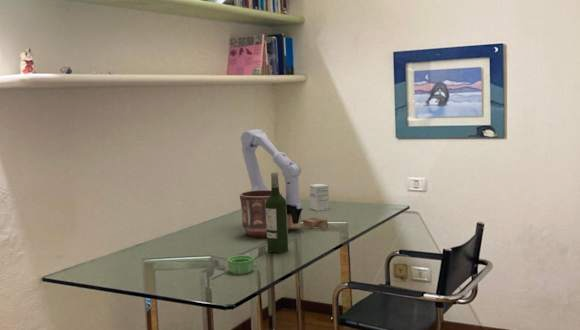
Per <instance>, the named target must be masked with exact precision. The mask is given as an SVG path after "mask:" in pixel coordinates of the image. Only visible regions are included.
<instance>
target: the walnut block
mask: <svg viewBox="0 0 580 330" xmlns="http://www.w3.org/2000/svg"><path fill="white" fill-rule="evenodd" d="M302 224H303V225H304V226H307V227H310V228H314V227H323V226H329V225H328V219H326V218H323V217H320V216H316V217H310V218H303V219H302ZM303 225H302V226H303ZM304 226H303V227H304ZM307 227H306V228H307ZM310 228H309V229H310Z"/></svg>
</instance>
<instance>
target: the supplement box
mask: <svg viewBox="0 0 580 330" xmlns="http://www.w3.org/2000/svg"><path fill="white" fill-rule="evenodd" d="M329 195H330V194H329V185H328V184H324V183H316V184H315V183H314V184H309V204H310V207H309V208H310V209H311V210H314V211H318V212H319V211H326V210H330V203H329V202H330V201H329Z"/></svg>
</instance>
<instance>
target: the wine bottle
mask: <svg viewBox="0 0 580 330" xmlns="http://www.w3.org/2000/svg"><path fill="white" fill-rule="evenodd" d="M270 173H271V174H270V179H271V181H270V182H271V183H270V185H271V188H270V189H271V195H270V196H269V197H268V199H267V200H266V203H265V205H266V227H267V237H266V243H267V246H266V247H267V252H268V251H271V252H274V253H273V254H282V253H281V252H284V253H287V252H288V251H289V238H288V237H289V236H288V226H287V210H286V205H287V204H286V200H285V199H286V198H284V196H283V195H282V196H281V195H280V193H279V192H280V183H279V173H278V172H270ZM286 251H287V252H286Z"/></svg>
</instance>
